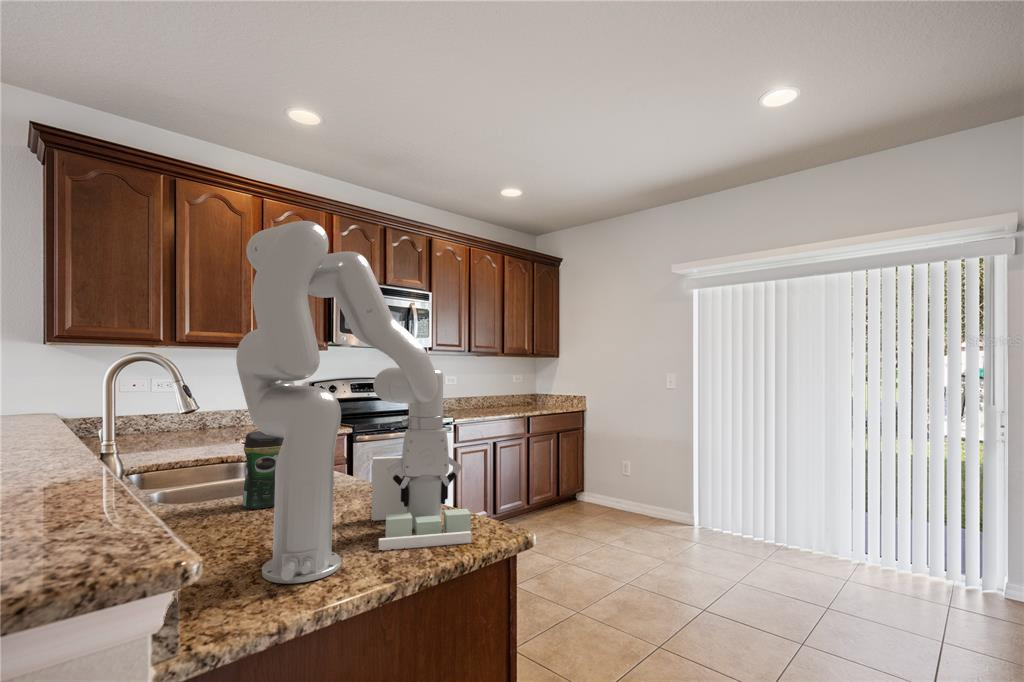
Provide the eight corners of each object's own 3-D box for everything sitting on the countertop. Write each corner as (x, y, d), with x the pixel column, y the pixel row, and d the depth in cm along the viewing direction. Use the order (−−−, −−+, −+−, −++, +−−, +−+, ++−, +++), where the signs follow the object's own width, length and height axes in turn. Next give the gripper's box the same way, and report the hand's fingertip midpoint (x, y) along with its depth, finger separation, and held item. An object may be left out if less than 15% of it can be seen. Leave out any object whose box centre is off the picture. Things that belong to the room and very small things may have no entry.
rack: (471, 542, 103) (472, 472, 104) (373, 551, 98) (375, 477, 99) (452, 512, 124) (453, 454, 125) (371, 518, 119) (373, 457, 120)
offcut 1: (411, 543, 103) (412, 517, 103) (386, 545, 101) (386, 519, 102) (410, 536, 107) (410, 512, 107) (385, 538, 105) (385, 514, 106)
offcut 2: (470, 538, 106) (470, 513, 106) (446, 540, 105) (446, 515, 105) (466, 532, 110) (467, 508, 110) (443, 534, 109) (443, 510, 109)
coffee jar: (282, 499, 135) (284, 428, 136) (286, 506, 128) (288, 431, 129) (241, 503, 130) (243, 430, 131) (242, 511, 123) (245, 433, 124)
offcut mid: (441, 540, 105) (441, 521, 105) (416, 543, 103) (417, 522, 103) (438, 534, 108) (439, 515, 109) (414, 536, 107) (415, 517, 107)
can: (402, 531, 110) (404, 474, 110) (410, 520, 117) (412, 467, 118) (437, 532, 110) (438, 475, 110) (443, 521, 117) (444, 468, 118)
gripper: (386, 426, 109) (384, 511, 108) (467, 424, 113) (466, 505, 113) (384, 422, 116) (383, 502, 115) (461, 421, 121) (460, 497, 120)
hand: (424, 503), depth 114 cm, fingers closed on can, 7 cm apart
